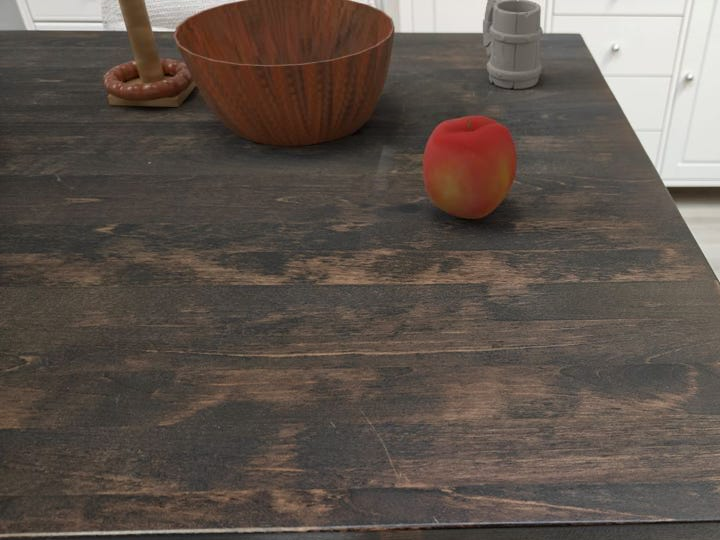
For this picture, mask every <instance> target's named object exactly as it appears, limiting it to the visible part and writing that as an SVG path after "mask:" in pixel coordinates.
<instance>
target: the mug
mask: <svg viewBox="0 0 720 540" xmlns="http://www.w3.org/2000/svg"><path fill="white" fill-rule="evenodd" d="M541 14H542V8H541V5H540V4H539V3H537V2H534V1H531V0H487V2H486V6H485V11H484V19H482V39H483V40H482V41H483V47H484V48H485V52H486V56H487V58H489V60H488V62H487V63H486V72H487V73H488V81H489V82H490V83H491V84H494V85H495V86H497V87H498V88H504V89H508V90H509V89H513V90H523V89H528V88H532V87H534V86H536V85H537V83H538V82H539V79H540V77H539V76H540V75H541V74H542V70H543V66H542V63H541V61H540V49H541V48H540V46H541V38H542V36H543V33H544V31H543V27H541V17H542V16H541Z"/></svg>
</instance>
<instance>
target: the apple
mask: <svg viewBox="0 0 720 540" xmlns="http://www.w3.org/2000/svg"><path fill="white" fill-rule="evenodd" d="M517 161H518V159H517V150H516V146H515V142H514V138H513V135H512V134H511V132H510V130H509V129H508V128H507V127H506V126H505V125H503V124H501V123H499V122H497V121H496V120H494V119H493V118H491V117H487V116H483V115H469V116H462V117H459V118H453V119H447V120H444V121H442V122H441V123H439V124H438V125H437V126H436V127H435V128H434V129H433V131H432V133H430V136H429V138H428V140H427V142H426V145H425V149H424V154H423V159H422V178H423V183H424V187H425V190H426V192H427V193H426V194H427V195H428V197H429V199H430V200H431V202H432V203H433V204H434V205H435V207H437V208H438V209H440V210H441V211H442V212H444V213H446V214H448V215H451V216H453V217H457V218H461V219H467V220H468V219H469V220H479V219H482V218H485V217H486V216H488V215H489V214H491V213H492V212H493V211H495V210H496V209H497V208H498V206H500V204H501V203H502V202H503V201H504V199H506V197H507V195H508V194H509V192H510V190H511V189H512V186H513V184H514V181H515V177H516V173H517V166H518V165H517V164H518V162H517Z"/></svg>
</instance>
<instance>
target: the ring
mask: <svg viewBox="0 0 720 540" xmlns="http://www.w3.org/2000/svg"><path fill="white" fill-rule="evenodd" d="M160 62H161V66H162V69H163V73H164V74H169V75H173V76H174V77H171V78H169V79H166V80H164V81H160V82H153V83H147V84H127V83H124V81H126V80H129V79H132V78H134V77H138V76H139V72H138V69H137V65H136V62H135V60H130V61H126V62H123V63H121V64H118V65H115V66H113V67H112V68H110V70H108V71H107V72H106V73H105V74H104V75H103V77H102V84H103V86H104V89H105V90H106V92H107V93H108V95H109V94H110V95H112V96H115V97H118V98H121V99H124V100H138V101H149V100H155V99H161V98H167V97H170V96H173V95H175V94H178V93H180V92H182V91H185V90H186V89H187V88H188V87H189V86H190V84H191V83H192V82H193V78H192V76H191V74H190V72H189V70H188V68H187V66H186V64H185V62H184V61H183V62H182V61H179V60H176V59H172V58H160Z"/></svg>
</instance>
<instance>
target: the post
mask: <svg viewBox="0 0 720 540" xmlns="http://www.w3.org/2000/svg"><path fill="white" fill-rule="evenodd" d="M117 2H118V5H119V8H120V11H121V12H120V13H121V15H122V19H123V22H124V26H125V29H126V33H127V36H128V41H129V44H130V48H131V50H132V55H133V58H134V61H135V62H136V65H137V69H138V72H139V76H138V77H134V78H132V79H129V80H126V81H124V83H127V84H147V83H153V82H160V81H164V80H166V79H169V78H171V77H174V76H173V75H169V74H164V73H163V69H162V66H161V62H160V59H161V57H160V54H159V50H158V47H157V41H156V39H155V36H154V32H153V31H154V30H153V28H152V24H151V20H150V16H149V12H148V8H147V5H146V1H145V0H117ZM196 87H197V86H196V84H195V82H194V80H193V82H192V83H191V84H190V86H189V87H188V88H187V89H186V90H185V91H182V92H180V93H178V94H175V95H173V96H170V97H167V98H161V99H155V100H149V101H138V100H124V99H121V98H118V97H115V96H112V95H110V94H109V93H108V95H107V101H108V103H109V106H127V107H128V106H129V107H130V106H131V107H132V106H134V107H136V106H137V107H162V108H163V107H164V108H166V107H167V108H180V106H181V105H182V104H183V102H185V100H186V99H187V98H188V97H189V95H191V93H192V92H193V90H194V89H195V88H196Z"/></svg>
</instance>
